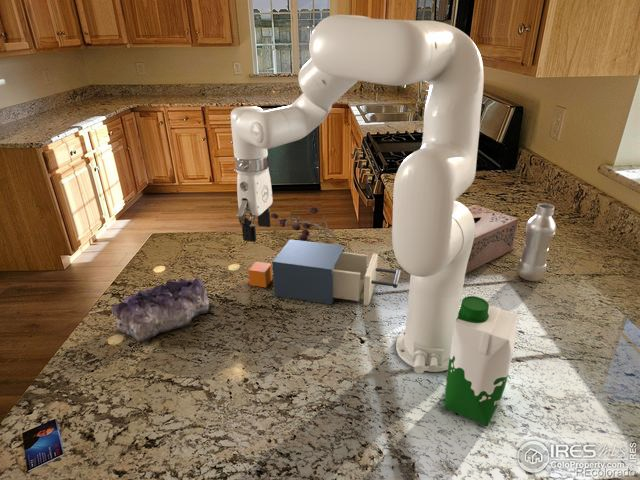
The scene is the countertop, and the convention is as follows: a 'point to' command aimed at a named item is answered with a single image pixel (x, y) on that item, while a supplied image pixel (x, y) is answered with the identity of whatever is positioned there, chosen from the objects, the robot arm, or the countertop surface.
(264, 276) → the orange foam cube
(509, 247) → the tissue box cover
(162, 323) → the geode
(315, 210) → the decorative branch
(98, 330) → the countertop surface
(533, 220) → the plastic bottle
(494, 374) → the milk carton
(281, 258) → the blue cabinet body
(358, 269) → the cabinet drawer
